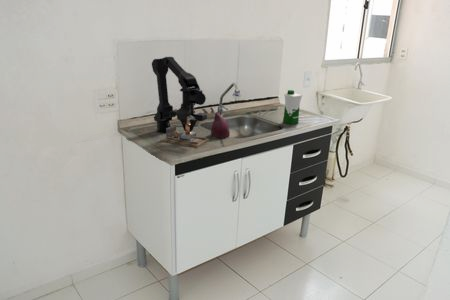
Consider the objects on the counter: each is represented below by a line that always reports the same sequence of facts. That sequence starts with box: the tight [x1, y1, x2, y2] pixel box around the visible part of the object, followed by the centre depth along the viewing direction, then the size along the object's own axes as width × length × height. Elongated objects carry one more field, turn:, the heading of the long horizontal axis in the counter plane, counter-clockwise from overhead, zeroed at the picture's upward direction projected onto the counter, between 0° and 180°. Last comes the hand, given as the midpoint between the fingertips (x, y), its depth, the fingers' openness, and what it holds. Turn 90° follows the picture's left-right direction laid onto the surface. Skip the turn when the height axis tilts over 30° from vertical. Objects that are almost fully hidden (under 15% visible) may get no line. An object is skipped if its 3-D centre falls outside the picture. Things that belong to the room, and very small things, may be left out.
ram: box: [179, 122, 197, 141], centre depth 186 cm, size 7×6×8 cm
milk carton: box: [282, 89, 303, 126], centre depth 228 cm, size 9×9×20 cm
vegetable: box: [210, 111, 231, 139], centre depth 197 cm, size 10×10×15 cm
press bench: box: [163, 125, 210, 149], centre depth 188 cm, size 20×12×6 cm, turn 66°
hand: (188, 131), depth 186 cm, fingers closed on ram, 3 cm apart
